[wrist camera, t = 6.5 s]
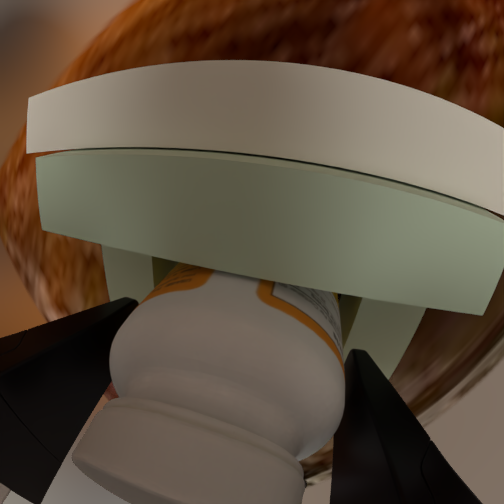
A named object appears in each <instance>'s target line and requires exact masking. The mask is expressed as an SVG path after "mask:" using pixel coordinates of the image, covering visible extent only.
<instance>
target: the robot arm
mask: <svg viewBox="0 0 504 504" xmlns="http://www.w3.org/2000/svg"><path fill="white" fill-rule="evenodd" d="M138 305H139V303H138V301H137V300H136V299H133V298H129V297H123V298H120V299H117V300H114V301H111V302H108V303H105V304H102V305H99V306H96V307H93V308H90V309H87V310H84V311H81V312H78V313H75V314H72V315H69V316H66V317H63V318H60V319H57V320H54V321H51V322H48V323H46V324H43V325H40V326H37V327H34V328H31V329H28V331H27V330H24V331H21V332H19V333H16V334H12V335H9V336H6V337H2V338H0V504H2V503H3V502H4V500H5V499H6V497H7V496H8V494H9V493H10V491H11V490H12V491H13V492H15V493H16V494H18V495H20V496H21V497H23V498H25V499H26V500H28V501H30V502H32V503H34V504H41V502H42V500H43V498H44V496H45V494H46V492H47V490H48V489H49V487H50V485H51V483H52V481H53V479H54V477H55V476H56V474H57V472H58V470H59V468H60V466H61V465H62V462H63V461H64V459H65V457H66V455H67V454H68V452H69V450H70V448H71V447H72V445H73V443H74V441H75V440H76V438H77V436H78V434H79V433H80V431H81V429H82V428H83V426H84V425H85V423H86V421H87V419H88V418H89V416H90V415H91V413H92V411H93V410H94V408H95V406H96V405H97V403H98V402H99V400H100V398H101V397H102V395H103V394H104V392H105V390H106V389H107V387H108V386H109V384H110V383H111V381H112V378H111V374H110V366H109V358H110V350H111V346H112V342H113V340H114V338H115V336H116V334H117V332H118V330H119V329H120V327H121V326H122V325H123V323H124V322H125V321H126V319H127V318H128V317H129V315H130V314H131V313H132V312H133V311H134V310H135V308H136V307H137V306H138ZM344 372H345V406H344V412H343V416H342V419H341V422H340V424H339V427H338V429H337V430H336V432H335V433H334V444H333V466H332V482H331V495H330V504H482V503H481V501H480V500H479V499H478V498H477V497H476V496H475V494H474V493H473V492H472V491H471V490H470V489H469V487H468V486H467V485H466V484H465V483H464V482H463V480H462V479H461V478H460V477H459V476H458V474H457V473H456V472H455V471H454V470H453V468H452V467H451V466H450V465H449V463H448V462H447V461H446V459H445V458H444V456H443V455H442V454H441V452H440V451H439V450H438V448H437V447H436V445H435V444H434V443H433V441H430V437H429V435H428V434H427V433H426V431H425V430H424V428H423V427H422V426H421V424H420V423H419V421H418V420H417V419H416V417H415V416H414V414H413V413H412V412H411V410H410V409H409V407H408V406H407V405H406V403H405V402H404V401H403V399H402V398H401V397H400V395H399V394H398V392H397V391H396V390H395V388H394V387H393V386H392V384H391V383H390V382H389V380H388V379H387V378H386V376H385V375H384V374H383V372H382V371H381V370H380V368H379V367H378V366H377V364H376V363H375V362H374V360H373V359H372V358H371V356H370V355H369V354H368V352H367V351H365V350H362V349H351V350H350V351H349V354H348V356H347V358H346V360H345V363H344ZM306 485H307V483H306V482H305V488H306Z"/></svg>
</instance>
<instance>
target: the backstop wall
mask: <svg viewBox="0 0 504 504" xmlns="http://www.w3.org/2000/svg"><path fill="white" fill-rule="evenodd" d="M105 147H161V148H186V149H203V150H216V151H228V152H238V153H248V154H257V155H265V156H273V157H280V158H287V159H294V160H300V161H306V162H312V163H318V164H324V165H329V166H335V167H340V168H345V169H350V170H354V171H359V172H364V173H368V174H372V175H377V176H381V177H385V178H389V179H393V180H397V181H401V182H405V183H408V184H412V185H416V186H419V187H423V188H426V189H430V190H433V191H436V192H440V193H443V194H446V195H449V196H452V197H455V198H458V199H461V200H464V201H467V202H470V203H473V204H475V205H478V206H481V207H484V208H486V209H489V210H492V211H494V212H497V213H499V214H502V215H504V128H502V127H501V126H499V125H497V124H495V123H493V122H491V121H489V120H487V119H486V118H484V117H482V116H480V115H477V114H475V113H473V112H471V111H469V110H467V109H465V108H462V107H460V106H458V105H456V104H453V103H451V102H448V101H446V100H443V99H441V98H438V97H436V96H433V95H430V94H428V93H425V92H422V91H419V90H416V89H413V88H410V87H407V86H404V85H400V84H397V83H394V82H390V81H386V80H383V79H379V78H375V77H371V76H367V75H362V74H358V73H353V72H348V71H343V70H338V69H332V68H326V67H319V66H312V65H305V64H296V63H286V62H273V61H254V60H211V61H192V62H179V63H169V64H161V65H153V66H146V67H140V68H134V69H128V70H123V71H118V72H113V73H108V74H104V75H100V76H96V77H92V78H88V79H84V80H81V81H77V82H74V83H70V84H67V85H64V86H61V87H58V88H55V89H52V90H49V91H46V92H43V93H41V94H38V95H35V96H33V97H30V98H29V103H28V115H27V153H34V152H44V151H54V150H66V149H82V148H105Z"/></svg>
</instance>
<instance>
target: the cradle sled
mask: <svg viewBox="0 0 504 504" xmlns="http://www.w3.org/2000/svg"><path fill="white" fill-rule="evenodd" d="M36 177H37V191H38V201H39V210H40V218H41V225H42V230H45V231H49V232H53V233H57V234H61V235H65V236H69V237H73V238H77V239H81V240H85V241H89V242H93V243H98V244H101V246H102V254H103V261H104V268H105V275H106V281H107V287H108V292H109V297H110V302H111V301H114V300H117V299H120V298H123V297H129V298H133V299H136V300H137V301H138V303H139V304H140V303H141V302H142V301H143V300H144V299H145V298H146V297H147V295H148V294H149V293H150V292H151V291H152V290H153V289H154V288H155V287H156V286H157V285H158V284H159V283H160V282H161V281H162V280H163V279H164V278H165V277H166V276H167V275H168V273H169V272H170V271H171V270H172V269H173V268H174V267H175V266H176V265H177V264H178V263H179V262H182V263H186V264H191V265H196V266H201V267H205V268H210V269H215V270H220V271H225V272H230V273H235V274H240V275H245V276H250V277H255V278H260V279H265V280H270V281H275V282H280V283H286V284H291V285H296V286H302V287H307V288H313V289H318V290H324V291H329V292H335V293H341V298H340V301H339V313H340V324H341V335H342V346H343V359H344V363H345V360H346V358H347V356H348V354H349V351H350V350H351V349H362V350H365V351H367V352H368V354H369V355H370V356H371V358H372V359H373V360H374V362H375V363H376V364H377V366H378V367H379V368H380V370H381V371H382V372H383V374H384V375H385V376H386V378H387V379H388V380H389V378H390V377H391V375H392V373H393V372H394V370H395V368H396V367H397V365H398V363H399V361H400V360H401V358H402V356H403V354H404V352H405V350H406V349H407V347H408V345H409V343H410V341H411V339H412V337H413V335H414V333H415V331H416V329H417V327H418V325H419V323H420V321H421V319H422V317H423V315H424V312H425V310H426V308H433V309H440V310H447V311H454V312H461V313H468V314H476V315H483V314H484V312H485V309H486V307H487V305H488V303H489V301H490V299H491V297H492V295H493V292H494V290H495V288H496V286H497V283H498V281H499V278H500V276H501V273H502V271H503V268H504V220H502V219H501V218H499V217H497V216H495V215H494V214H492V213H490V212H488V211H487V210H485V209H483V208H481V207H479V206H477V205H475V204H473V203H470V202H467V201H464V200H461V199H458V198H455V197H452V196H449V195H446V194H443V193H440V192H436V191H433V190H430V189H426V188H423V187H419V186H416V185H412V184H408V183H405V182H401V181H397V180H393V179H389V178H385V177H381V176H377V175H372V174H368V173H364V172H359V171H354V170H350V169H345V168H340V167H335V166H329V165H324V164H318V163H312V162H306V161H300V160H294V159H287V158H280V157H273V156H265V155H257V154H248V153H238V152H228V151H216V150H203V149H186V148H161V147H105V148H82V149H76V150H71V151H65V152H60V153H55V154H50V155H46V156H41V157H37V158H36Z"/></svg>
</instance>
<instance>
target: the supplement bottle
mask: <svg viewBox="0 0 504 504" xmlns="http://www.w3.org/2000/svg"><path fill="white" fill-rule="evenodd" d="M109 366H110V374H111V378H112V382H113V385H114V387H115V390H116V392H117V394H118V396H119V398H116V399H113V400H110V401H109V402H108V403H106V404H105V406H104V407H103V410H101V411H99V412H98V413H97V414H96V416H95V417H94V419H93V420H92V422H91V424H90V426H89V428H88V429H87V431H86V432H85V434H84V436H83V437H82V439H81V440H80V442H79V443H78V445H77V447H76V448H75V450H74V452H73V453H72V461H73V462H74V464H75V465H76V466H77V467H78V468H79V469H80V470H81V471H82V472H83V473H84V474H85V475H87V476H88V477H89V478H91V479H92V480H93V481H95V482H96V483H97V484H99V485H100V486H102V487H103V488H105V489H106V490H108V491H110V492H111V493H113V494H114V495H116V496H118V497H120V498H122V499H123V500H125V501H127V502H129V503H131V504H301V503H302V497H303V493H304V490H305V482H304V479H303V477H304V473H303V468H302V466H301V464H300V463H299V462H298V461H300V460H303V459H305V458H307V457H309V456H310V455H312V454H314V453H315V452H317V451H318V450H320V449H321V448H322V447H323V446H324V445H325V444H326V443H327V442H328V441H329V440H330V439H331V438H332V436H333V435H334V433H335V432H336V430H337V429H338V427H339V424H340V422H341V419H342V416H343V412H344V406H345V372H344V359H343V346H342V335H341V324H340V313H339V304H338V295H337V293H335V292H329V291H324V290H318V289H313V288H307V287H302V286H296V285H291V284H286V283H280V282H275V281H270V280H265V279H260V278H255V277H250V276H245V275H240V274H235V273H230V272H225V271H220V270H215V269H210V268H205V267H201V266H196V265H191V264H186V263H182V262H179V263H178V264H177V265H176V266H175V267H174V268H173V269H172V270H171V271H170V272H169V273H168V275H167V276H166V277H165V278H164V279H163V280H162V281H161V282H160V283H159V284H158V285H157V286H156V287H155V288H154V289H153V290H152V291H151V292H150V293H149V294H148V295H147V297H146V298H145V299H144V300H143V301H142V302H141V303H140V304H139V305H138V306H137V307H136V308H135V310H134V311H133V312H132V313H131V314H130V315H129V317H128V318H127V319H126V321H125V322H124V323H123V325H122V326H121V327H120V329H119V330H118V332H117V334H116V336H115V338H114V340H113V342H112V346H111V350H110V358H109Z"/></svg>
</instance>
